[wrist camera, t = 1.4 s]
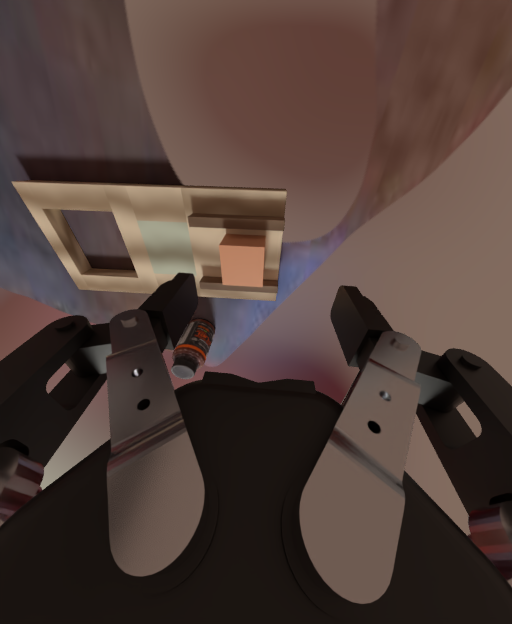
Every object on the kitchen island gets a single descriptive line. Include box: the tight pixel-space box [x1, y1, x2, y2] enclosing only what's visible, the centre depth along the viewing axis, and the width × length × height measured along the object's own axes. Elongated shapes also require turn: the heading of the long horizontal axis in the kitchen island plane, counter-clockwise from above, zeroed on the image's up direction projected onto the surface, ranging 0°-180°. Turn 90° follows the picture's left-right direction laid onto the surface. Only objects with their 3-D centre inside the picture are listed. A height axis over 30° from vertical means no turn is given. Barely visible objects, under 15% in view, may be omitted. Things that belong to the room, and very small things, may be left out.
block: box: [219, 234, 266, 287], centre depth 27 cm, size 6×6×4 cm
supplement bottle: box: [171, 319, 215, 379], centre depth 38 cm, size 6×6×11 cm
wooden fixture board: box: [12, 180, 287, 301], centre depth 29 cm, size 16×35×4 cm, turn 89°
